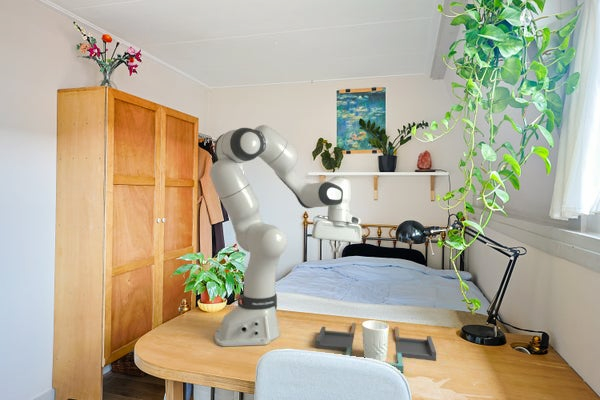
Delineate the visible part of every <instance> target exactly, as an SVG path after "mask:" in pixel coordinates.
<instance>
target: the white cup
mask: <svg viewBox="0 0 600 400" xmlns="http://www.w3.org/2000/svg"><path fill="white" fill-rule="evenodd" d="M361 325H362V328H361V329H362V330H361V331H362V348H363V358H364V357H367V358H373V359H377V360H380V361H384V362H386V360H387V357H388V356H387V355H388V348H389V347H388V346H389V332H390V331H389V330H390V325H389V324H388V323H386V322H384V321H381V320H374V319H373V320H365V321H363V322H362V323H361Z"/></svg>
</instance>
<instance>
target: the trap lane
mask: <svg viewBox="0 0 600 400" xmlns="http://www.w3.org/2000/svg"><path fill="white" fill-rule="evenodd" d="M356 327H357V324H356V323H355V322H352V325H351V330H350V332H347V331H346V332H345V331H333V330H326V326H321V328H320V331H319V333H318V335H317V337H316V339H315V349H320V350H329V351H330V350H331V351H339V352H345V356H346V355H350V356H351V354H352V349H353V345H354V344H353V343H354V339H355V333H356ZM399 331H400V330H399V327H398V326H394V337H395V345H396V357H397V358H396V359H397V363H396V362H386V361H385V362H386V363H388V364H390V365H392V366H394V367H396V368H397V369H398V370H400V371H401V372H402V373H401V374H404V363H403V358H405V359H406V358H408V359H416V360H417V359H418V360H429V361H436V360H437V351H436V347H435V345H434V342H433V339H432V337H431V336H430V335H427V336H426V339H422V338H414V337H413V338H410V337H403V336H402V337H400V333H399Z"/></svg>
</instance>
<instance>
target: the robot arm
mask: <svg viewBox="0 0 600 400" xmlns="http://www.w3.org/2000/svg"><path fill="white" fill-rule="evenodd" d="M213 151H214V161H215V162H214V163H213V164H212V165H211V166H210V169H209V176H210V179H211V180H210V181H211V183H212V185H213V188H214V189H215V193H216V195H217V196H218V199H219V200H220V202H221V203H222V205H223V208H224V210H225V211H226V213H227V215H228V217H229V219H230V221H231V224H232V228H233V230H234V231H233V232H234V234H235V241H236V243H237V244H238V246H239V247H240V248H241V249H242V250H244V251H246V252H247V253H249V260H248V264H247V266H246V269H245V270H244V272H243V294H240V293H236V294H235V296H234V297H235V300H236V301H237V306H235V307H234V308H233V309H232V310H231V311H229V312H228V313H227V314H226V315H224V316H223V319H222V320H221V326H220V327H219V328H218V329H216V330H215V331H214V342H215V343H216V344H217V345H219V346H221V347H236V346H237V347H238V346H239V347H240V346H241V347H242V346H263V345H264V346H265V345H268V344H269V343H270V342H272V341H273V340H275V339H277V338H278V337H280V335H281V332H280V328H279V324H278V317H277V309H278V296H277V295H278V294H277V293H276V288H277V287H276V283H277V282H276V279H277V277H276V276H277V268H278V263H279V260H280V257H281V255H282V254H283V253H284V252H285V250H286V248H287V244H288V240H287V235H286V234H285V232H284V231H283V230H281V229H280V228H279V227H278V226H275V225H273V224H267V223H265V222H264V221H263V219H262V216H261V214H260V209H259V208H260V201H259V200H258V198H257V196H256V194H255V192H254V190H253V187H252V186H251V184H250V182H249V180H248V178H247V177H246V174H245V172H244V163H246V162H249V161H252V160H254V159H256V158H260V159H261V160H262V161H263V162H264V163H265V164H266V165H268V167H270V168H271V169H272V170H273V171H274V173H275V174H276V176H277V177H278V178H279V180H281V181H282V183H284V185H285V186H286V187H287V188H289V190H290V191H291V192H292V193H293V195H294V196H295V198H296V199H297V201H298V203H299V204H300V206H302V208H305V209H314V208H323V207H324V208H325V207H328V208H327V215H316V216H314V217H313V220H312V225H313V226H312V230H311V231H312V232H311V237H312V238H313V239H316V240H325V241H326V240H327V241H328V240H329V241H328V242H329V245H330V248H331V253H337V254H338V253H339V254H340V253H341V252H340V251H341V248H342V246H343V245H344V242H346V243H355V244H360V243H361V241H362V238H363V232H362V231H363V229H362V226H361V222H362V220H361V218H359V217H357V216H355V215H353V214H351V208H350V205H351V202H352V183H351V181H350V180H349V179H348V178H346V177H344V176H342V177H341V176H334V177H332V178H331V179H329V180H327V181H326V180H324V181H322V182H321V181H319V182H315V183H310V182H307V181H304V180H303V179H302V177H301V176H300V175H299V174H298V173H297V172H296V171H295V170H294V169H295V166H296V164H297V162H298V152H297V149H295V147H294V146H293V145H292V144H291V143H290V142H289V141H288V140H287V139H286V138H285V137H284V136H283V135H282V134H280V133H279V132H278V131H276V130H275V129H273V128H272V127H270V126H269V125H265V124H261V125H259V126H257V127H254V129H253V128H251V127H240V128H238V129H231V130H229V131H227V132H225V133H223V134H221V135H219V136H218V138H217V139H216V140H215V143H214V149H213ZM335 241H337V244H338V245H337V247H335Z"/></svg>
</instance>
